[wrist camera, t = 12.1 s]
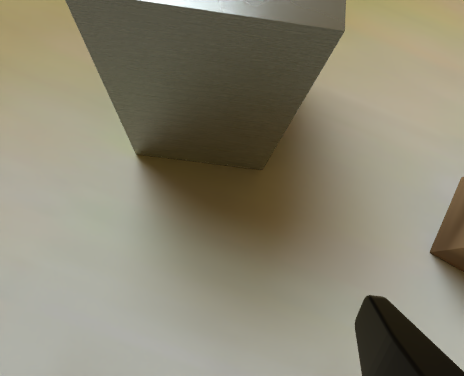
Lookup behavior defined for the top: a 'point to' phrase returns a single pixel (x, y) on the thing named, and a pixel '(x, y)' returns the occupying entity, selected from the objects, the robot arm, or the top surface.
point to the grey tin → (208, 70)
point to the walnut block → (452, 232)
